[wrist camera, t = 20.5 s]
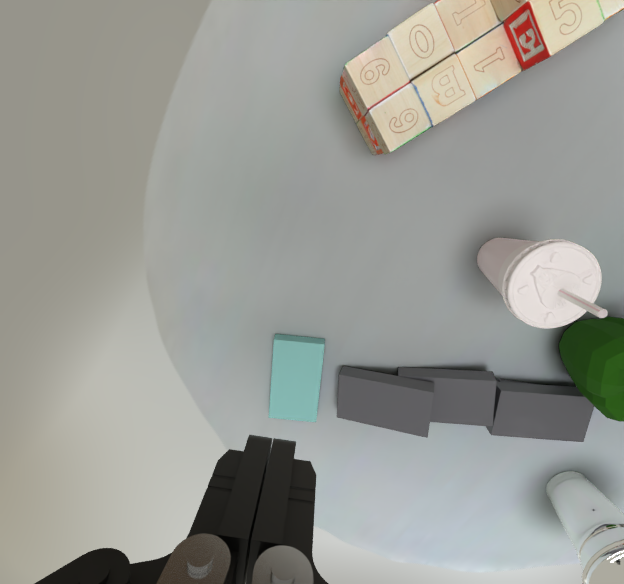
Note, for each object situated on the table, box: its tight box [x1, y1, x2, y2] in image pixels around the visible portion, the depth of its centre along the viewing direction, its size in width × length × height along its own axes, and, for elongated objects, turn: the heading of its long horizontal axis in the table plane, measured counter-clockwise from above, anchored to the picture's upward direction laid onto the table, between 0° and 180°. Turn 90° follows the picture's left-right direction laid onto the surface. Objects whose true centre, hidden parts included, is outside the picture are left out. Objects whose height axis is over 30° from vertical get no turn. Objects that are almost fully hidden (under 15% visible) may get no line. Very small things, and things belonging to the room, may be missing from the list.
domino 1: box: [269, 334, 325, 422], centre depth 40 cm, size 2×5×9 cm
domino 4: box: [486, 382, 594, 442], centre depth 39 cm, size 2×5×9 cm
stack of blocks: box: [339, 0, 624, 155], centre depth 26 cm, size 21×6×12 cm, turn 121°
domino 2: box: [337, 366, 434, 437], centre depth 39 cm, size 2×5×9 cm
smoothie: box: [477, 238, 608, 328], centre depth 29 cm, size 6×6×14 cm
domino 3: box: [398, 367, 497, 426], centre depth 39 cm, size 2×5×9 cm
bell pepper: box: [559, 317, 624, 421], centre depth 34 cm, size 8×8×10 cm
